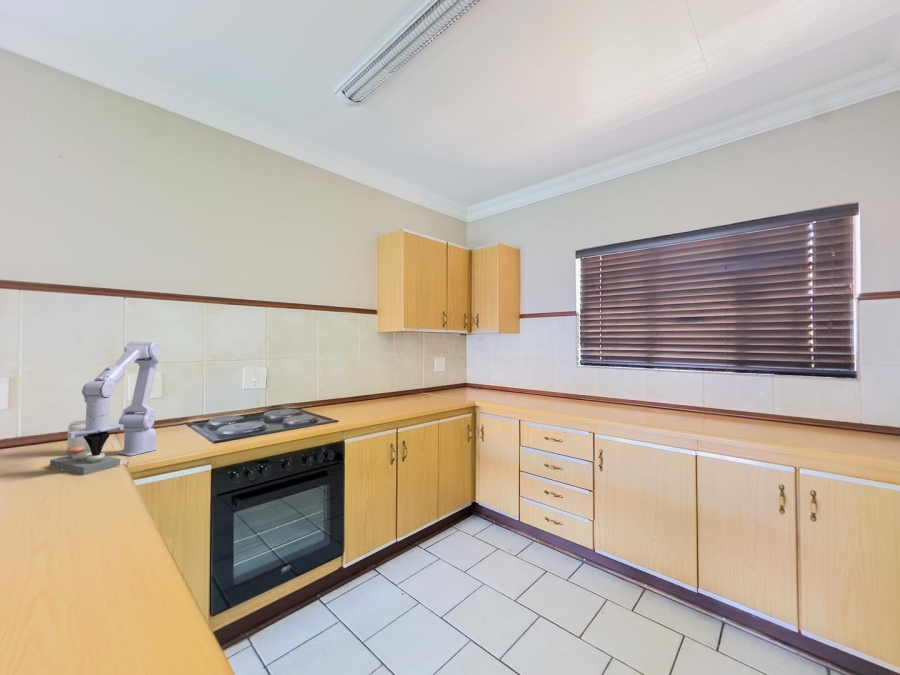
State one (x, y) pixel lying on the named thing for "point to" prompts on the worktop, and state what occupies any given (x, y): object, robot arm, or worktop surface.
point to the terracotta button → (74, 451)
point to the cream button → (83, 455)
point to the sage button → (95, 458)
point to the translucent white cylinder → (78, 440)
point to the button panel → (83, 465)
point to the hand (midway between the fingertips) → (95, 455)
